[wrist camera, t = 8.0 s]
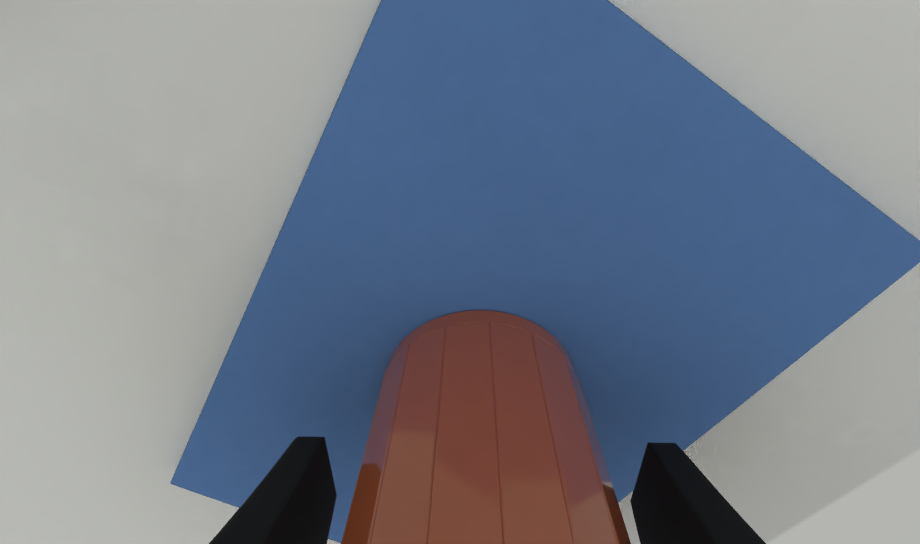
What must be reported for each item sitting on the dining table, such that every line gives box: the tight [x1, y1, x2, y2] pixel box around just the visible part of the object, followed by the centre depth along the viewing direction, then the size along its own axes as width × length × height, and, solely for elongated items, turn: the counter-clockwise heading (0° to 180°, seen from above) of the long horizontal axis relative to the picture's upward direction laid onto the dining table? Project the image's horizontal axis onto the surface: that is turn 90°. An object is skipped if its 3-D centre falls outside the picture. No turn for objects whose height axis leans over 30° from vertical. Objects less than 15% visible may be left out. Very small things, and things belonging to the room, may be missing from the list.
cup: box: [341, 310, 631, 544], centre depth 9 cm, size 5×5×8 cm
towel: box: [171, 0, 920, 543], centre depth 12 cm, size 18×13×1 cm
